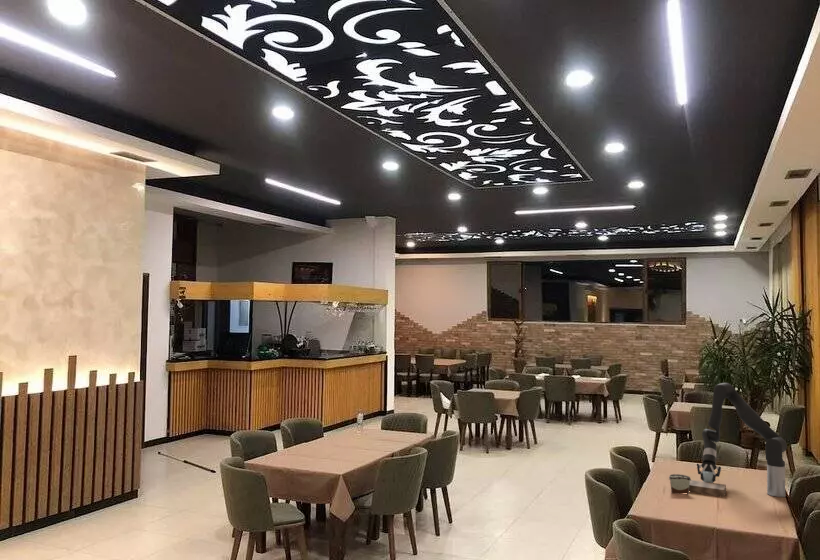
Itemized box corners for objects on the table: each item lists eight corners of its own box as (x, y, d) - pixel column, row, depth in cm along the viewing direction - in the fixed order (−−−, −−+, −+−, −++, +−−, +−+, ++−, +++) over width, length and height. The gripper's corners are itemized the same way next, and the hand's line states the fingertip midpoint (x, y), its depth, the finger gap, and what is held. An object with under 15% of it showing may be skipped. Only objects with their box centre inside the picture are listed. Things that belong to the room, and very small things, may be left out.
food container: (687, 491, 379) (687, 474, 379) (691, 494, 373) (691, 477, 373) (666, 490, 380) (666, 473, 380) (669, 493, 374) (669, 476, 374)
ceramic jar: (713, 486, 391) (713, 471, 392) (712, 488, 386) (712, 473, 387) (703, 485, 394) (703, 470, 394) (702, 487, 389) (702, 472, 390)
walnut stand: (725, 491, 381) (725, 484, 381) (724, 497, 369) (724, 490, 369) (689, 486, 391) (689, 479, 391) (686, 491, 379) (686, 484, 379)
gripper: (696, 452, 401) (694, 475, 390) (722, 455, 394) (720, 478, 383) (697, 459, 405) (695, 482, 394) (722, 462, 398) (721, 485, 387)
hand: (707, 480), depth 389 cm, fingers closed on ceramic jar, 5 cm apart
